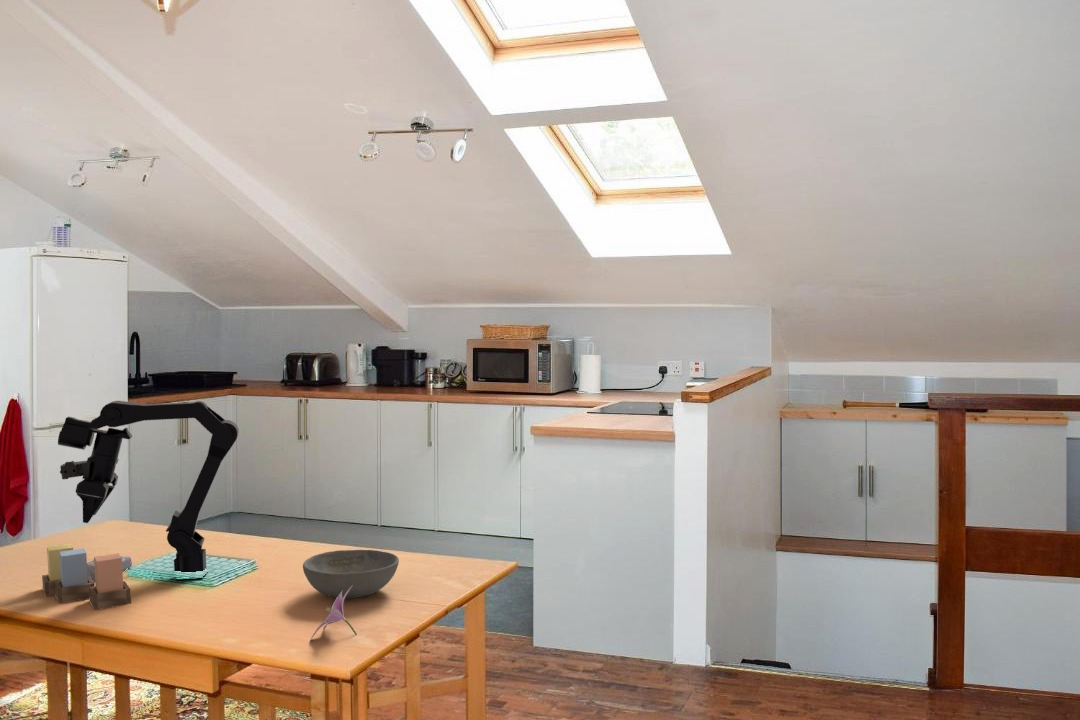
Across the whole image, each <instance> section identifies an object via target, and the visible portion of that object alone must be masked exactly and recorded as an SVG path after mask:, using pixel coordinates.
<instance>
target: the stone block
mask: <svg viewBox="0 0 1080 720" xmlns="http://www.w3.org/2000/svg"><path fill="white" fill-rule="evenodd" d="M120 556H121V558H122V571H123V573H124V572H126V571H127V570H126V569H127V568H130V567H131V568H132V565H133V561H132V557H131V556H125V555H120ZM131 568H130V569H131ZM125 570H126V571H125ZM87 575H88V576H91V578H92V580H93V581H95V567H94V559H93V560H90V561H87Z"/></svg>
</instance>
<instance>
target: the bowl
mask: <svg viewBox="0 0 1080 720" xmlns="http://www.w3.org/2000/svg"><path fill="white" fill-rule="evenodd" d="M399 562H400V559H399V556H397V555H396V554H394V553H391V552H388V551H382V550H381V551H380V550H376V549H343V550H341V549H340V550H333V551H325V552H323V553H322V552H321V553H318V554H315V555H313V556H311V557H309V558H307V559H306V560H305V561H303V564H302V569H303V570H302V571H303V573H304V576H305V577H306V580H307V581H308V583H309V584H310V585H311V586H312V588H313V589H315V590H316V592H319V593H321V594H323V595H325V596H328V597H332V598H337V597H338V596H339V594H340V593H341V592H342V599H343V597H344V595H345V594H346V592H347V591H348V590H349V589H350V587H351V586H352V585H353V586H352V587H351V589H350V590H349V592H348V593H347V595H346V597H345V599H354V598H362V597H366V596H369V595H372V594H374V593H377V592H379V590H382V589H383V588H384V587H385V586H387V585H388V583H390V582H391V580H392V579H393V577H394V576H395V574H396V571H397V569H398V566H399ZM342 590H343V591H342Z"/></svg>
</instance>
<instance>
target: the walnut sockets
mask: <svg viewBox="0 0 1080 720" xmlns="http://www.w3.org/2000/svg"><path fill="white" fill-rule="evenodd" d="M41 579H42V581H41V582H42V591H43V590H44V591H43V593H44V596H46V597H51V595H52V596H55V597H56V601H57V602H58V604H63V602H64V603H68V601H69V602H74V601H75V602H76V601H82V600H85V599H86V598H87V599H89V602H91V603H90V604H92V605H91V607H92V608H94V609H93V610H94V611H95V610H100V609H101V608H102V609H106V607H107V608H112V606H113V607H117V606H118V605H119V606H124V605H129V603H130V604H131V603H132V602H131V601H132V600H131V599H132V595H131V588H130V586H129V585H128V583H127V582H126V581H124V580H123V589H122V590H116V591H110V592H104V593H97V591H96V586H95V581H94V580H92V578H91V576H88V583H87V584H81V585H75V586H69V587H62V585H61V579H60V580H54V581H50V580H49V576H48V574H43V575H42V576H41ZM123 604H124V605H123ZM119 606H118V607H119Z"/></svg>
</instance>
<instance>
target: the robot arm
mask: <svg viewBox="0 0 1080 720" xmlns="http://www.w3.org/2000/svg"><path fill="white" fill-rule="evenodd" d="M180 419H183V420H184V419H195V420H197V422H198V423H200V425H201V426H202V427H204V429H205V430H207V432H209V433H210V434H211V439H210V443H209V447H208V452H207V456H206V458H205V460H204V463H203V465H202V467H201V470H200V472H199V474H198V477H197V479H196V481H195V483H194V486H193V488H192V490H191V493H190V495H189V497H188V499H187V501H186V504H185V506H184V507H183V509H182V510H181V512H180V511H178V510H175V511H174V512H173V514H172V516H171V517H172V518H171V521H170V523H169V524H168V526H167V528H166V529H165V532H167V534H166V535H167V536H166V540H167V543H168V545H169V546H171V548H174V549H175V551H176V552H175V558H174V560H173V566H174V567H173V571H181V572H196V571H203V570H205V568H206V569H207V551H206V548H203V546H204V541H205V537H203V536H202V535H201V534H200V533H198V531H196V529H197V525H198V521H199V517H200V513H201V508H202V507H203V505H204V503H205V500H206V498H207V496H208V493H209V491H210V488H211V487H212V485H213V481H214V479H215V478H216V475H217V473H218V470H219V468H220V466H221V463H222V461H223V460H224V458H225V457H226V456H227V454H228V453H229V451H231V449H232V448H233V445H234V444H235V442H236V441H237V439H238V437H239V433H240V431H239V427H238V425H237V424H236V423H235V422H234V421H232V420H229V419H225V418H223V417H222V416H221V415H220V414H219V413H217V412H216V411H214V410H213V409H212V408H210V407H209V406H208V405H207V403H205V402H204V401H202V400H196V401H187V402H169V403H168V402H167V403H147V404H145V403H137V402H133V401H132V402H131V401H122V400H114V401H110V402H108V403H107V404H105V405H103V407H102V408H101V410H100V413H99V416H97V417H95V418H92V420H91V421H89V420H83V419H80V418H79V419H78V418H76V417H73V416H67V417H65V420H64V423H63V425H62V427H61V429H60V431H59V434H58V439H57V444H58V446H61V447H62V446H63V447H67V448H68V447H69V448H71V449H72V448H73V449H78V450H83V451H84V450H85V449H86V448H87V447H91V446H92V445H93V447H92V451H91V454H90V455H89V457H87V459H86V460H80V461H74V460H71V461H66V462H65V463H62V464H61V465H60V467H59V468H60V471H59V473H60V475H61V479H62V480H68V479H70V478H71V479H72V478H76V477H77V478H78V477H82V480H80V482H78V483H77V485H76V488H75V493H76V496H78V497H79V498H80V499H81V501H82V523H84V524H89V522H91V521H90V520H92V518H93V516H96V515H97V513H99V511H100V509H101V507H102V506H103V504H104V503H105V502H106V501H107V499H108V498H109V496H110V495H111V493H112V491H113V490H114V489H115V487H116V485H117V484H118V479H119V476H118V475H117V473H116V472H115V471H116V466H117V464H118V462H119V453H120V450H121V448H122V447H121V446H122V444H123V443H122V442H123V439H125V440H130V439H132V437H133V435H132V434H131V432H130V431H129V428H128V427H125V428H124V429H118V428H117V427H122V426H127V425H131V424H134V423H135V424H136V423H138V422H140V423H141V422H143V421H158V420H159V421H160V420H162V421H163V420H180ZM104 427H108V428H107V430H103V429H101V428H104ZM95 434H96V436H95ZM93 442H94V443H93ZM110 484H112V485H110Z"/></svg>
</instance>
